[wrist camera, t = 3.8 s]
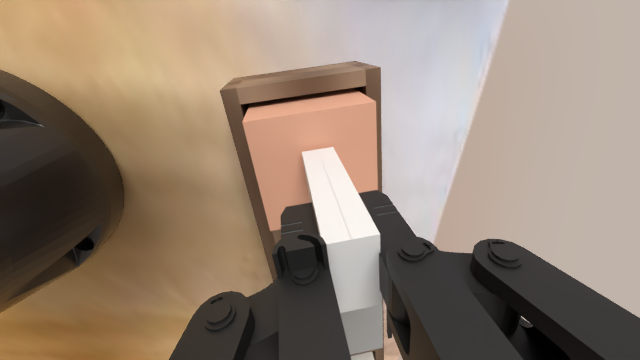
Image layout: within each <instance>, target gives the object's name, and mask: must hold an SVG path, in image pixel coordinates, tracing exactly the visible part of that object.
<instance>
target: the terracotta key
mask: <svg viewBox="0 0 640 360" xmlns="http://www.w3.org/2000/svg"><path fill="white" fill-rule="evenodd" d="M242 123H243V127H244V131H245V135H246V139H247V143H248V146H249V150H250V154H251V158H252V162H253V166H254V170H255V174H256V178H257V181H258V185H259V189H260V193H261V197H262V201H263V205H264V209H265V213H266V216H267V220H268V224H269V228H270V231H274V230H279V229H281V214H282V212H283V211H284V209H285V207H288V206H294V205H299V204H305V203H310V201H309V195H308V188H307V182H306V176H305V170H304V163H303V157H302V152H304V151H311V150H317V149H323V148H329V147H333V148H334V149H335V151H336V153H337V155H338V157H339V159H340V161H341V162H342V164H343V166H344V168H345V170H346V172H347V174H348V175H349V177H350V179H351V181H352V183H353V185H354V187H355V188H356V190H357V192H358V193H362V192H367V191H373V190H378V175H377V124H376V101H374V100H372V99H371V98H369V97H367V96H366V95H364V94H362V93H361V92H359V91H357V90H356V89H354V88H348V89H341V90H334V91H328V92H321V93H314V94H307V95H301V96H294V97H287V98H281V99H274V100H267V101H260V102H254V103H250V105H249V107H248V110H247V112H246V114H245V117H244V119H243V122H242Z"/></svg>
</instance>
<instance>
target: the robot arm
mask: <svg viewBox="0 0 640 360" xmlns="http://www.w3.org/2000/svg"><path fill="white" fill-rule="evenodd" d="M302 157H303V163H304V170H305V176H306V182H307V188H308V195H309V201H310V203H305V204H299V205H294V206H288V207H285V209H284V211H283V212H282V214H281V240H279V241H278V243H277V244H276V245H275V246H274V248H273V251H272V258H273V262H274V266H275V269H276V273H277V278H276V279H275V281H274V282H273V283H272V284H270V285H269V286H268V287H267V288H265V289H263V290H262V291H260V292H258V293H256V294H254V295H252V296H249V297H245V296H244V295H243V294H241V293H239V292H233V291H230V292H223V293H220V294H218V295H215V296H213V297H211V298H210V299H208V300H207V301H206V302H205V303H203V304H202V305H201V306H200V307H199V308H198V310H197V311H196V312H195V314H194V315H193V317H192V319H191V320H190V322H189V324H188V326H187V328H186V329H185V331H184V333H183V335H182V337H181V339H180V340H179V342H178V344H177V346H176V348H175V349H174V351H173V353H172V355H171V357H170V359H169V360H351V356H350V352H349V348H348V343H347V339H346V335H345V331H344V327H343V322H342V318H341V314H340V313H343V312H348V311H353V310H358V309H362V308H367V307H372V306H377V305H381V294H382V296H383V299H384V301H385V304H386V306H387V335H388V338H392V333H393V336H394V338H395V341H396V343H397V346H398V348H399V351H400V353H401V356H402V358H403V360H640V318H639V317H637V316H635V315H634V314H632V313H630V312H629V311H627V310H625V309H624V308H622V307H620V306H619V305H617V304H615V303H614V302H612V301H611V300H609V299H607V298H606V297H604V296H602V295H601V294H599V293H597V292H596V291H594V290H592V289H591V288H589V287H587V286H586V285H584V284H582V283H581V282H579V281H578V280H576V279H574V278H572V277H571V276H569V275H568V274H566V273H564V272H563V271H561V270H559V269H558V268H556V267H555V266H553V265H551V264H550V263H548V262H546V261H545V260H543V259H541V258H540V257H538V256H536V255H535V254H533V253H531V252H530V251H528V250H526V249H525V248H523V247H521V246H519V245H517V244H515V243H513V242H509V241H505V240H500V239H487V240H483V241H480V242H478V243H477V244H476V245H475V246H474V250H473V254H472V253H453V252H444V251H439V250H438V249H437V247H435V246H434V245H433V244H432V243H431V242H430V241H427V240H425V239H423V238H420V237H416V235H415V234H414V233H413V231H412V230H411V228H410V227H409V226H408V224H407V223H406V221H405V220H404V219H403V217H402V216H401V214H400V213H399V212H398V211H397V209H396V207H395V206H394V205H393V203H392V202H391V201H390V199H389V198H388V196H387V195H385V194H383V193H382V192H380V191H378V190H373V191H367V192H362V193H358V192H357V190H356V188H355V187H354V185H353V183H352V181H351V179H350V177H349V175H348V174H347V172H346V170H345V168H344V166H343V164H342V162H341V161H340V159H339V157H338V155H337V153H336V151H335V149H334V148H333V147H329V148H323V149H317V150H311V151H304V152H302ZM123 205H124V191H123V185H122V180H121V177H120V174H119V171H118V169H117V166H116V164H115V162H114V160H113V158H112V156H111V155H110V153H109V151H108V150H107V148H106V147H105V145H104V144H103V142H102V141H101V140H100V139H99V137H98V136H97V135H96V134H95V133H94V131H93V130H92V129H91V128H90V127H89V126H88V125H87V124H86V123H85V122H84V121H83V120H82V119H81V118H80V117H79V116H78V115H76V114H75V113H74V112H73V111H72V110H70V109H69V108H68V107H67V106H65V105H64V104H63V103H61V102H60V101H59V100H57V99H56V98H54V97H53V96H51V95H50V94H48V93H46V92H45V91H43V90H41V89H40V88H38V87H36V86H34V85H32V84H31V83H29V82H27V81H25V80H23V79H21V78H18V77H16V76H14V75H12V74H9V73H7V72H4V71H2V70H0V313H1V312H2V311H4V310H6V309H8V308H9V307H11V306H13V305H14V304H16V303H18V302H19V301H21V300H23V299H25V298H26V297H28V296H30V295H31V294H33V293H35V292H36V291H38V290H40V289H42V288H43V287H45V286H47V285H48V284H50V283H52V282H53V281H55V280H57V279H59V278H60V277H62V276H64V275H65V274H67V273H69V272H70V271H72V270H74V269H76V268H77V267H79V266H80V265H82V264H83V263H84V262H86V261H87V260H88V259H89V258H90V257H91V256H93V255H94V254H95V253H96V251H97V250H98V249H99V248H100V247H101V246H102V245H103V243H104V242H105V241H106V240H107V239H108V238H109V236H110V235H111V234H112V233H113V231H114V230H115V228H116V227H117V225H118V223H119V221H120V218H121V215H122V211H123ZM521 316H522V317H524V318H525V319H526V320H527V321H529V322H530V323H529V322H527V321H525V320H524V319H522V318H521Z"/></svg>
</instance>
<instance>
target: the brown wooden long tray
mask: <svg viewBox="0 0 640 360" xmlns="http://www.w3.org/2000/svg"><path fill="white" fill-rule="evenodd" d="M348 88H354V89H356V90H357V91H359V92H361V93H362V94H364V95H366V96H367V97H369V98H371V99H372V100H374V101H376V124H377V175H378V191H380V192H382V157H381V68H380V67H377V66H373V65H369V64H365V63H361V62H357V61H353V62H346V63H339V64H332V65H325V66H318V67H311V68H304V69H297V70H290V71H282V72H275V73H268V74H261V75H254V76H247V77H240V78H234V79H232V80H231V81H230V82H229V83H228V84H227V85H226V86H224V87H223V88H222V89H221V90H220V93H221V97H222V100H223V104H224V107H225V111H226V114H227V118H228V121H229V125H230V129H231V132H232V136H233V139H234V143H235V146H236V150H237V154H238V157H239V161H240V164H241V168H242V171H243V175H244V178H245V182H246V186H247V189H248V193H249V196H250V200H251V203H252V207H253V210H254V214H255V218H256V221H257V225H258V228H259V232H260V235H261V239H262V243H263V246H264V250H265V253H266V257H267V260H268V264H269V267H270V271H271V275H272V278H273V282H274V281H275V279H276V278H277V273H276V269H275V266H274V262H273V258H272V251H273V248H274V246H275V245H276V244H277V243H278V241H279V240H281V229H279V230H274V231H270V228H269V224H268V220H267V216H266V213H265V209H264V205H263V201H262V197H261V193H260V189H259V185H258V181H257V178H256V174H255V170H254V166H253V162H252V158H251V154H250V150H249V146H248V143H247V139H246V135H245V131H244V127H243V123H242V122H243V119H244V117H245V114H246V112H247V110H248V107H249V105H250V103H254V102H260V101H267V100H274V99H281V98H287V97H294V96H301V95H307V94H314V93H321V92H328V91H334V90H341V89H348ZM382 305H383V296H382ZM367 352H372V353H373V356H374V360H384V333H383V348H379V349H374V350H370V351H365V352H361V353H356V354H352V355H350V356H354V355H358V354H363V353H367Z"/></svg>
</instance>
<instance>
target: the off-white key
mask: <svg viewBox="0 0 640 360" xmlns="http://www.w3.org/2000/svg"><path fill="white" fill-rule="evenodd" d="M351 360H374V356H373V353H372V352H367V353H363V354H358V355H354V356H351Z"/></svg>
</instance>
